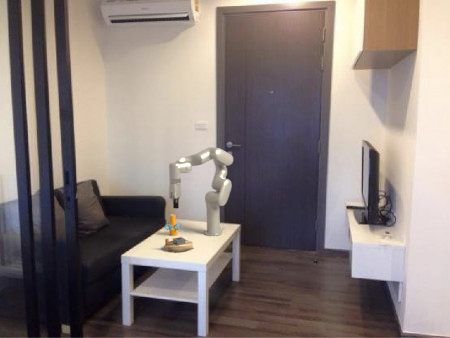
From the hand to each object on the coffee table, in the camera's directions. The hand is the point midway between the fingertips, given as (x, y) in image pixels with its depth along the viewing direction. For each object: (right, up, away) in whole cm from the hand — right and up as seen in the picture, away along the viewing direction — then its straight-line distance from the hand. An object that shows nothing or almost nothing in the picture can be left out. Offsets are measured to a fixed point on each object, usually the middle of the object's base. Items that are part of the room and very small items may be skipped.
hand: (176, 208), depth 289 cm
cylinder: (-5, -22, +26) cm, 34 cm away
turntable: (+3, -26, -6) cm, 27 cm away
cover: (+3, -23, -7) cm, 24 cm away
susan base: (+3, -26, -6) cm, 27 cm away
